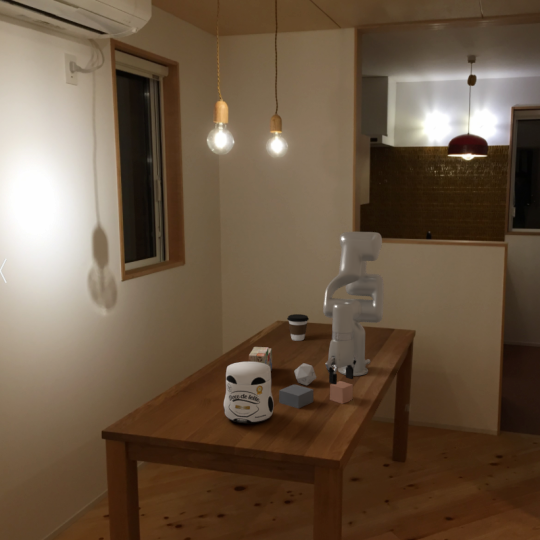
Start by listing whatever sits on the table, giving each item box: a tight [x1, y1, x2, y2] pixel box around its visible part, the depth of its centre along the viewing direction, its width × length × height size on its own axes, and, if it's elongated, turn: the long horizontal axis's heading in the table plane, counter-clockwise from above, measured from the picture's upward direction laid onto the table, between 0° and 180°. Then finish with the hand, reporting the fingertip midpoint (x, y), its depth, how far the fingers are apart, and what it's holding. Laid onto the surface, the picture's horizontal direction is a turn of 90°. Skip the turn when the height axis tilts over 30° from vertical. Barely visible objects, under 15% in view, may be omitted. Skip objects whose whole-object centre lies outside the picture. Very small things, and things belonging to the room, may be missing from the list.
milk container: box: [223, 361, 275, 425], centre depth 218 cm, size 17×17×18 cm
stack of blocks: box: [248, 346, 273, 371], centre depth 264 cm, size 21×6×12 cm, turn 171°
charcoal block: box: [278, 384, 314, 409], centre depth 234 cm, size 9×9×5 cm
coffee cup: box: [286, 313, 309, 342], centre depth 322 cm, size 11×11×12 cm
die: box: [294, 362, 317, 387], centre depth 255 cm, size 8×9×10 cm
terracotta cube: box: [329, 380, 354, 404], centre depth 237 cm, size 6×6×6 cm
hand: (341, 380), depth 235 cm, fingers open, 9 cm apart
